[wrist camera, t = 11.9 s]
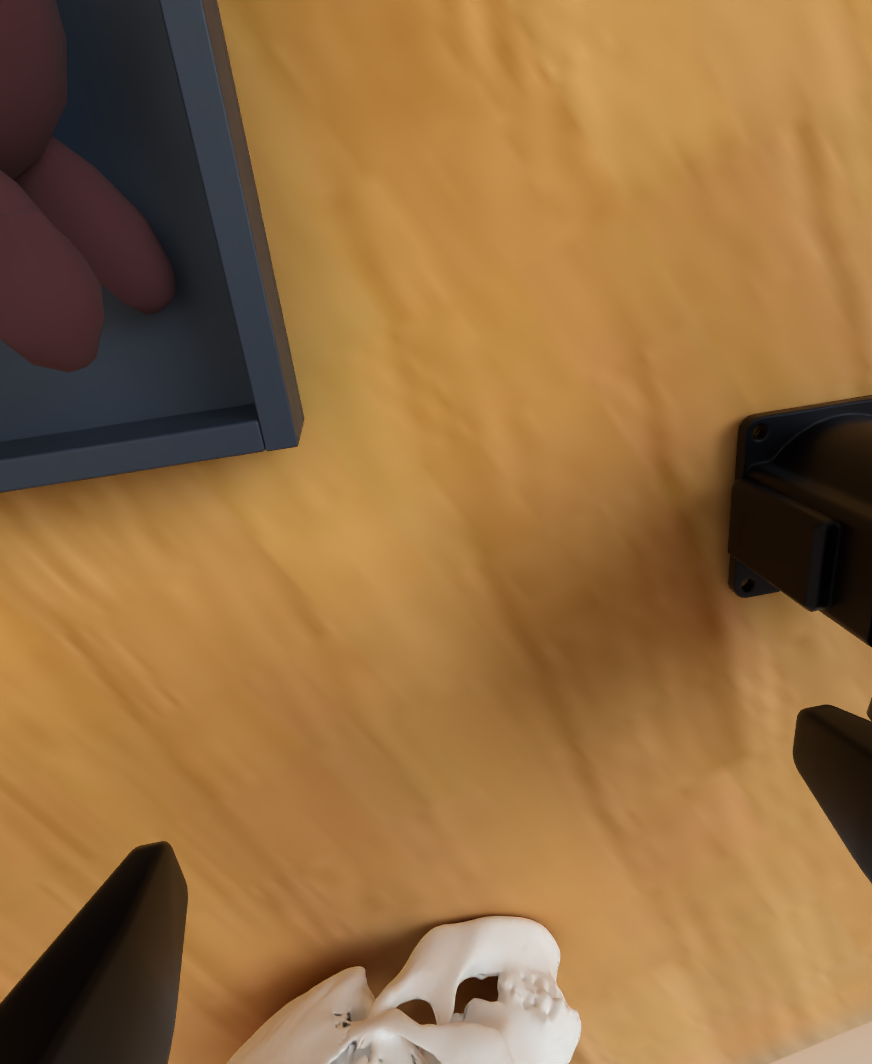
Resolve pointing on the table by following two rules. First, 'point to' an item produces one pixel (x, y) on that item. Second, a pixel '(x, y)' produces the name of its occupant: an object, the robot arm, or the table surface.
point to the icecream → (60, 210)
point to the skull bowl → (434, 1006)
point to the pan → (193, 248)
